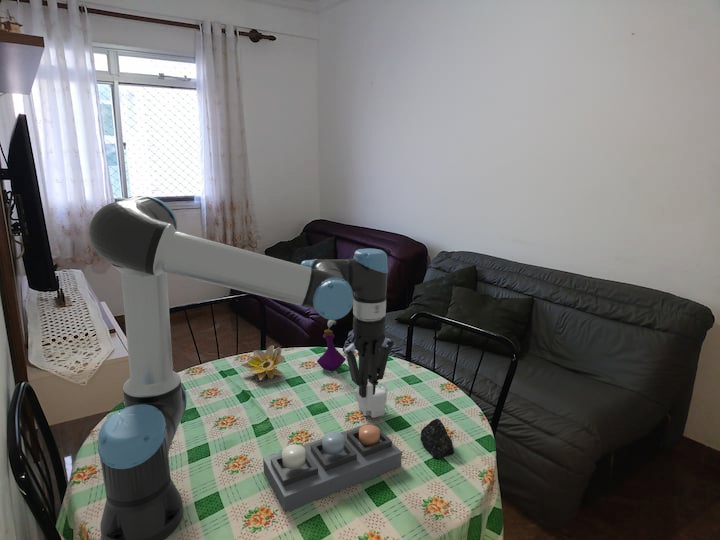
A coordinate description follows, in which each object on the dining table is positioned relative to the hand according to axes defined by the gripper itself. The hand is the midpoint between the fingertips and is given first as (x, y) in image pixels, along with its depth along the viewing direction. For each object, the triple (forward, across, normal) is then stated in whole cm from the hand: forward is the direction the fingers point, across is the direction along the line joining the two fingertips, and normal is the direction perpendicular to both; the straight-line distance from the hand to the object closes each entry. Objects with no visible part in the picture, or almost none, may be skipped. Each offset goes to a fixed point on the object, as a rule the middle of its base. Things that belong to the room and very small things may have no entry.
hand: (366, 407), depth 108 cm
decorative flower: (+15, -8, +55) cm, 58 cm away
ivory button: (+8, -19, 0) cm, 21 cm away
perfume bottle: (+14, +14, +47) cm, 51 cm away
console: (+14, -9, 0) cm, 17 cm away
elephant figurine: (+14, +12, +16) cm, 25 cm away
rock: (+14, +19, -5) cm, 24 cm away
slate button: (+8, -9, 0) cm, 12 cm away
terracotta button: (+9, +1, 0) cm, 9 cm away
